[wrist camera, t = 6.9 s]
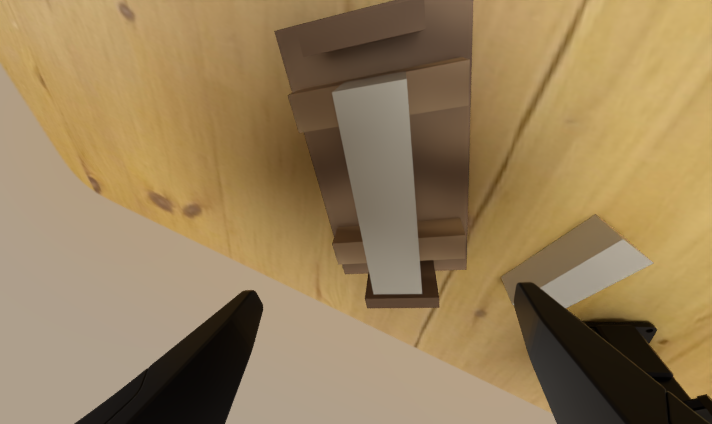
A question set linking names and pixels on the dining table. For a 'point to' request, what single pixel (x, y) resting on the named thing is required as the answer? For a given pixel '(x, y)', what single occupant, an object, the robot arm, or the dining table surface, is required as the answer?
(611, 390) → the robot arm
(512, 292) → the clay offcut
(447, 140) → the wooden slotted stand
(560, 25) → the dining table surface
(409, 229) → the grey rectangular bar
